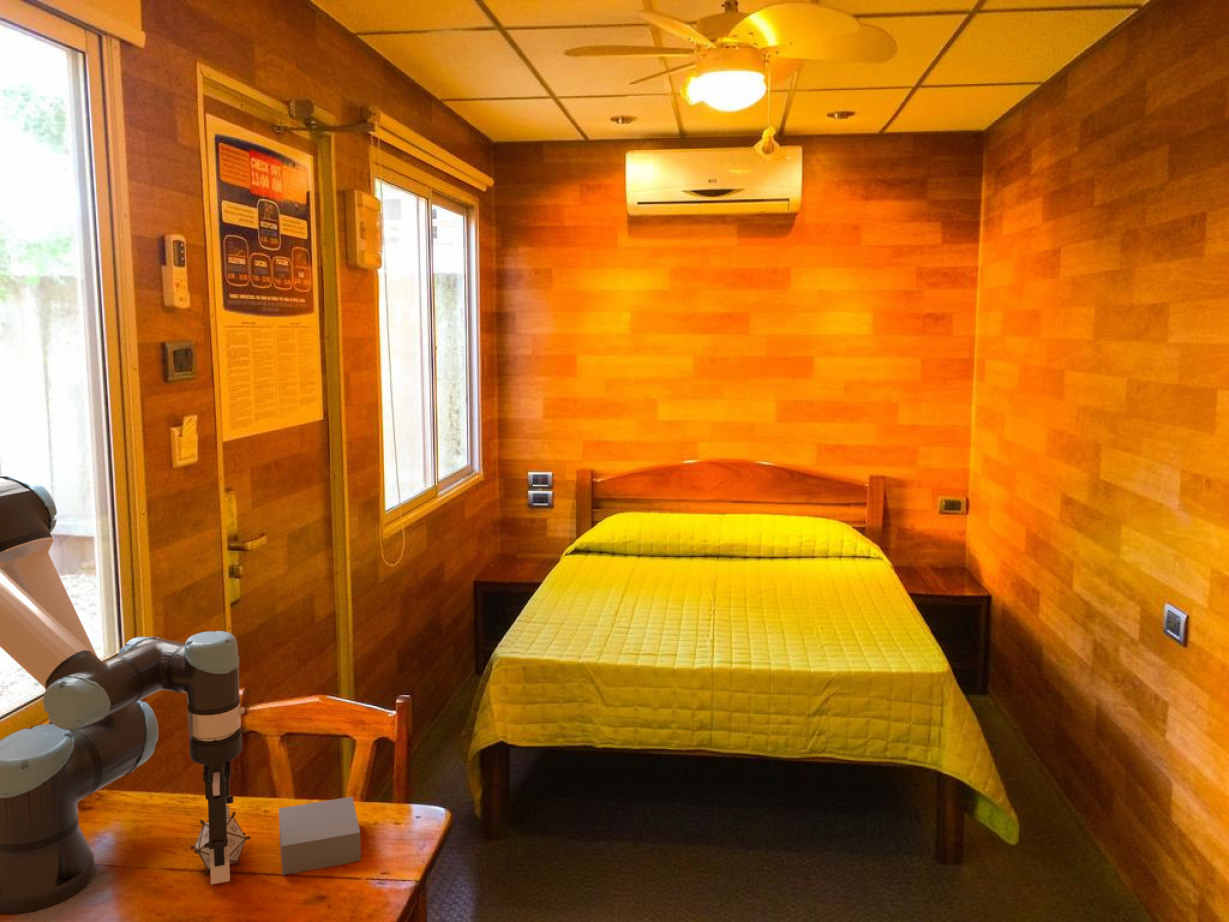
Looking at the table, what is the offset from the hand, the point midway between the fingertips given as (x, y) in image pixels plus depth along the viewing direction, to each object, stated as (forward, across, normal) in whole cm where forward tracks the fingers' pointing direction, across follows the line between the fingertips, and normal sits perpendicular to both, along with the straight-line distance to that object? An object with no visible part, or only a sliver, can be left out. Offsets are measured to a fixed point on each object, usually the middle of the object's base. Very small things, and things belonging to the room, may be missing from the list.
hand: (221, 862), depth 149 cm
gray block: (+1, 0, -15) cm, 15 cm away
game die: (+1, 0, 0) cm, 1 cm away
